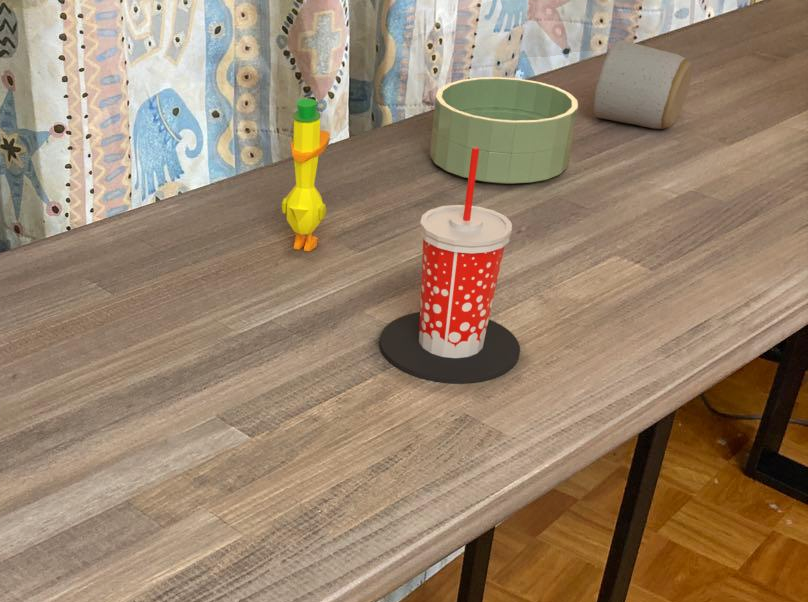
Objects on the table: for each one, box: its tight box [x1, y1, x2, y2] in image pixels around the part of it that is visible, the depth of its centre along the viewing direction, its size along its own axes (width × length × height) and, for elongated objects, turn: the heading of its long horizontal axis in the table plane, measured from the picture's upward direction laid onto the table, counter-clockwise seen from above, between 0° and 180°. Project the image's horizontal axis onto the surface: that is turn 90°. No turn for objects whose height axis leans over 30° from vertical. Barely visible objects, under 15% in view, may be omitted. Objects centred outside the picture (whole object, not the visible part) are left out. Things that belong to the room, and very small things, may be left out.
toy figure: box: [281, 98, 331, 252], centre depth 91 cm, size 7×4×12 cm, turn 159°
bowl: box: [429, 76, 579, 185], centre depth 108 cm, size 13×13×6 cm
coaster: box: [379, 311, 521, 384], centre depth 81 cm, size 10×10×1 cm
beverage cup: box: [419, 146, 513, 358], centre depth 76 cm, size 6×6×14 cm
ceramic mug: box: [592, 39, 693, 130], centre depth 118 cm, size 11×8×8 cm
